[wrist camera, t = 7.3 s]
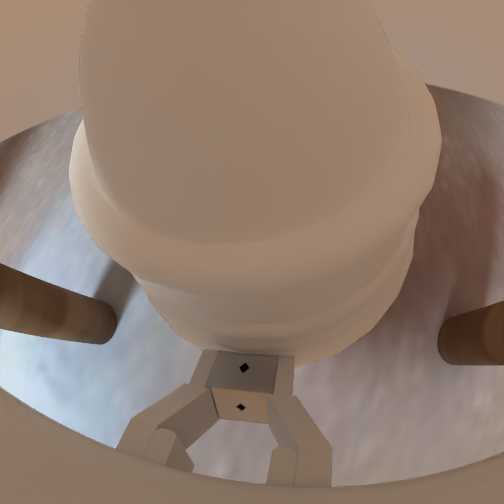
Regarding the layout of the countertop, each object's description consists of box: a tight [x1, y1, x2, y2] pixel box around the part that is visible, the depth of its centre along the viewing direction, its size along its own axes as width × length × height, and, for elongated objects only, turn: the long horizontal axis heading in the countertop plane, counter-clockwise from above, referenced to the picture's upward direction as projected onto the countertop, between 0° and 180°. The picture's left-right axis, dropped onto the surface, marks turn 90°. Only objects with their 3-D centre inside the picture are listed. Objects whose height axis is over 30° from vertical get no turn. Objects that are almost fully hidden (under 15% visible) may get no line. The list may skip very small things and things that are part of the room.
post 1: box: [0, 263, 116, 344], centre depth 12 cm, size 3×3×12 cm
